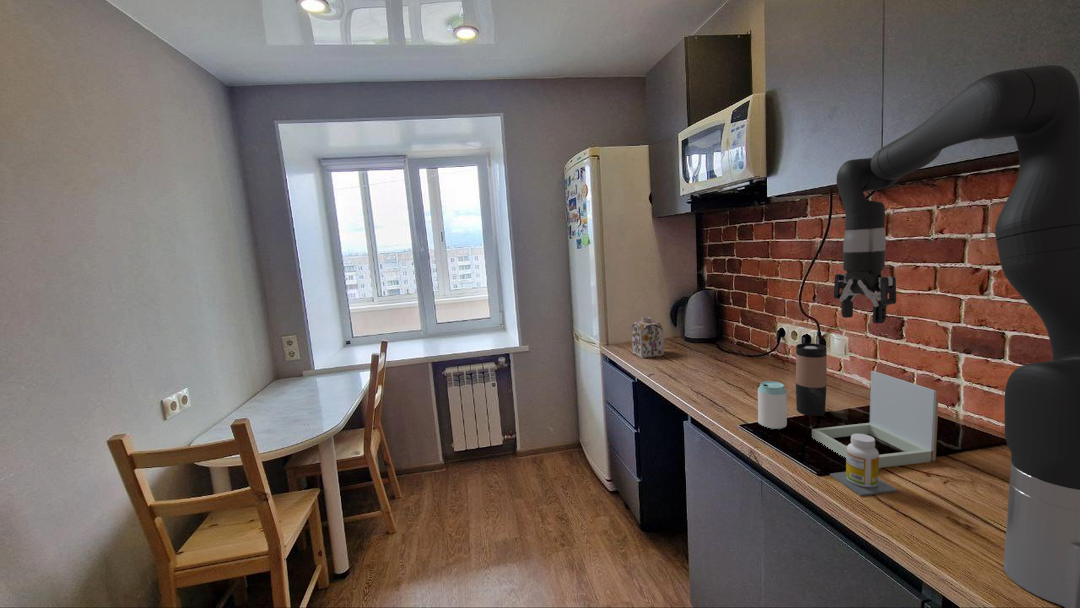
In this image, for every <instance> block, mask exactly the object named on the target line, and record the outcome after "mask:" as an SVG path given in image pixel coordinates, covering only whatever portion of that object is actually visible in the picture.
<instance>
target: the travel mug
mask: <svg viewBox="0 0 1080 608" xmlns="http://www.w3.org/2000/svg"><path fill="white" fill-rule="evenodd" d="M795 346H796V347H795V397H796V398H795V399H796V400H795V403H796V411H797V412H798V413H800V414H801V415H805V416H808V417H809V416H810V417H820V416H824V415H825V414H826V405H827V403H826V400H827V382H828V381H827V379H828V378H827V376H828V375H827V366H828V365H827V356H828V355H827V352H828V351H827V350H828V349H827V346H826V345H823V344H820V343H810V342H808V343H807V342H806V343H805V342H804V343H798V344H796V345H795Z"/></svg>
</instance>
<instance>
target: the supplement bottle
mask: <svg viewBox="0 0 1080 608" xmlns="http://www.w3.org/2000/svg"><path fill="white" fill-rule="evenodd" d="M846 446H847V452H846V459H845V468H846V469H845V472H846V478H847V480H848V481H850V482H851V483H853V484H855V485H858V486H861V487H875V486H877V485H878V478H879V470H880V468H879V455H880V453H879V451H878V449H877V448H876V439H875V437H874V436H872V435H870V434H852V435H851V436H850V443H849V444H848V445H846Z"/></svg>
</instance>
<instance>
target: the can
mask: <svg viewBox="0 0 1080 608" xmlns="http://www.w3.org/2000/svg"><path fill="white" fill-rule="evenodd" d="M787 399H788V392H787V389H786V388H785V384H783V383H782V382H780V381H770V380H766V381H762V382H760V385H759V387H758V388H757V422H758V425H760V426H762V427H763V426H764V427H763V428H765V427H767V428H766V429H768V428H770V429H769V430H774V429H778V430H782V429H784V428H786V427H787V424H788V418H787V417H788V413H787V412H788V410H787V408H788V407H787V406H788V400H787Z"/></svg>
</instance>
